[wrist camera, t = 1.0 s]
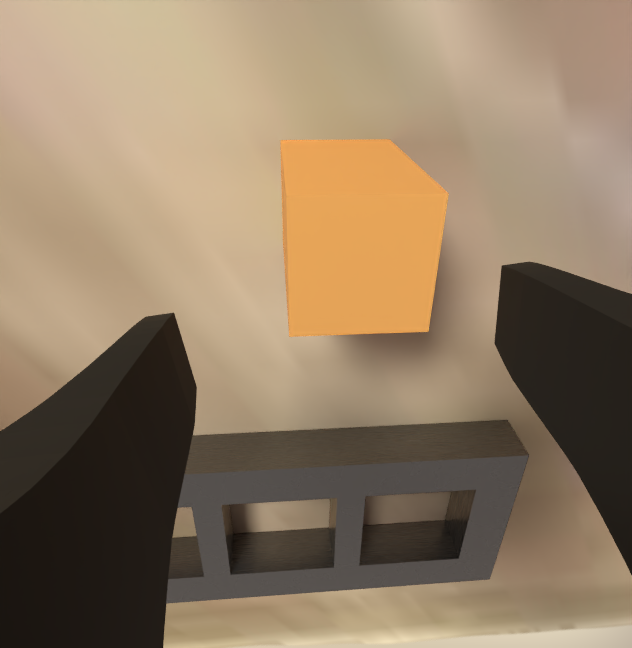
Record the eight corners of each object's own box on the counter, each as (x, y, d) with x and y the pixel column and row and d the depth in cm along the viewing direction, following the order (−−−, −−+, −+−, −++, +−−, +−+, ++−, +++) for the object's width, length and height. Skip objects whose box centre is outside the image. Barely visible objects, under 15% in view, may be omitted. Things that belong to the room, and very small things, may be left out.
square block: (389, 139, 18) (448, 193, 12) (381, 242, 20) (428, 331, 14) (280, 140, 18) (286, 195, 12) (283, 244, 20) (289, 336, 14)
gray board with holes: (507, 420, 26) (528, 455, 24) (474, 541, 31) (489, 579, 29) (30, 443, 24) (7, 484, 22) (79, 568, 29) (64, 611, 27)
